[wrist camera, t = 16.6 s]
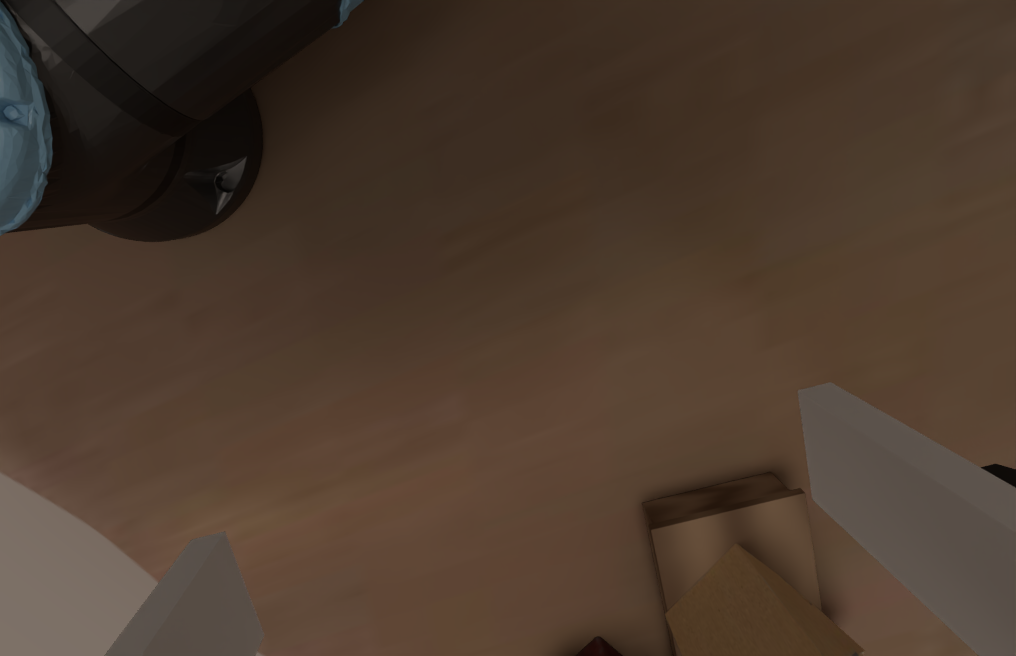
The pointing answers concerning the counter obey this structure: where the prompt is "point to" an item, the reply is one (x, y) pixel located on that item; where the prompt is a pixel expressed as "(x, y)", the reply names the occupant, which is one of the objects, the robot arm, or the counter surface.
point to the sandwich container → (752, 615)
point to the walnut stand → (731, 535)
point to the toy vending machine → (598, 649)
